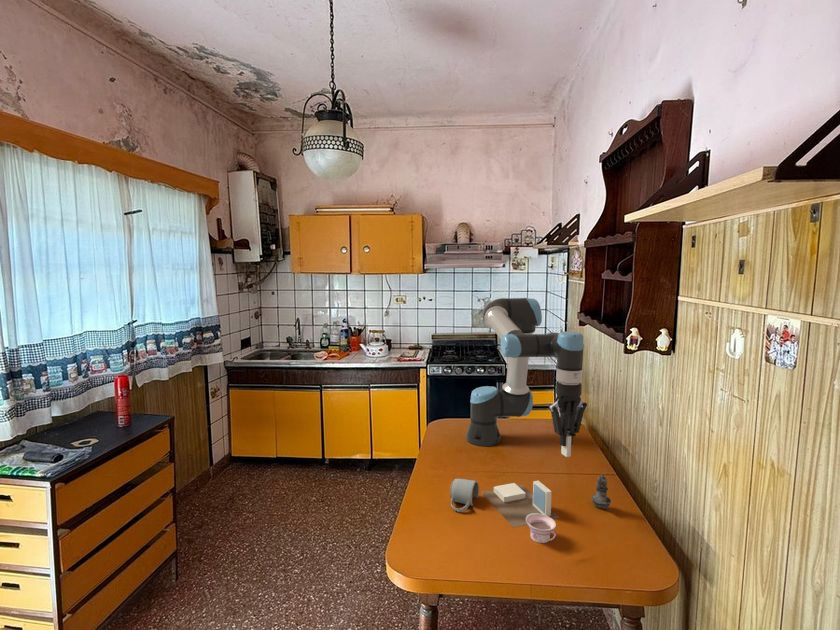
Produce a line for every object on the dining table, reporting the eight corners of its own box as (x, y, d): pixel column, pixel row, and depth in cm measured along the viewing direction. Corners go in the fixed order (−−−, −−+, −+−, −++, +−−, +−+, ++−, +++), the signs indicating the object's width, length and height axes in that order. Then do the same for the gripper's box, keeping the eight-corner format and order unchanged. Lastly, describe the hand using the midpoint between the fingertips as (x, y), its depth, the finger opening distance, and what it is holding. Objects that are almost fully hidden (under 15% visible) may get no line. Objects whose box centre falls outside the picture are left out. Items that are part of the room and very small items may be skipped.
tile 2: (532, 505, 138) (532, 481, 137) (537, 504, 139) (538, 480, 138) (545, 517, 132) (546, 492, 131) (550, 515, 132) (551, 491, 131)
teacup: (510, 540, 123) (510, 519, 122) (534, 523, 131) (535, 504, 130) (547, 562, 114) (548, 540, 113) (570, 542, 122) (571, 522, 121)
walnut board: (480, 495, 146) (480, 491, 146) (521, 487, 151) (521, 484, 151) (513, 531, 126) (513, 527, 126) (559, 521, 132) (559, 517, 131)
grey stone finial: (586, 506, 139) (588, 471, 138) (600, 503, 142) (602, 468, 140) (600, 516, 134) (602, 480, 133) (614, 512, 136) (616, 476, 135)
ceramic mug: (455, 493, 147) (456, 472, 146) (479, 498, 144) (479, 477, 143) (445, 510, 138) (445, 487, 137) (469, 516, 134) (469, 493, 133)
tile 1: (514, 488, 148) (493, 492, 146) (514, 482, 148) (493, 486, 146) (525, 498, 142) (504, 502, 139) (525, 493, 142) (504, 497, 139)
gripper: (558, 387, 128) (555, 463, 130) (594, 383, 132) (591, 457, 134) (543, 380, 135) (541, 452, 137) (578, 377, 139) (575, 447, 141)
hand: (565, 454), depth 136 cm, fingers closed
